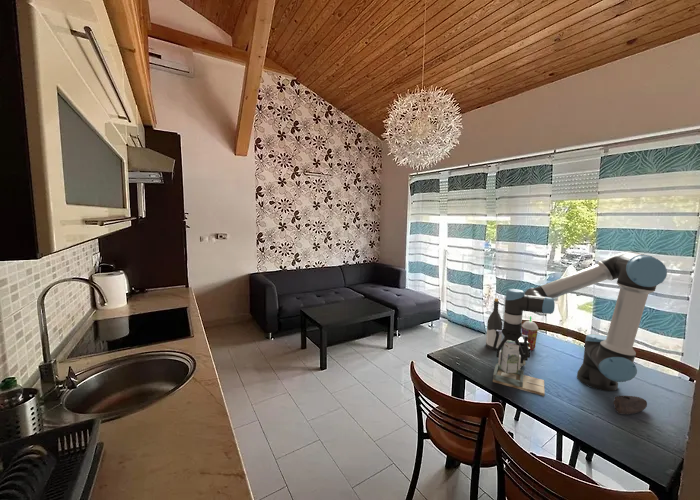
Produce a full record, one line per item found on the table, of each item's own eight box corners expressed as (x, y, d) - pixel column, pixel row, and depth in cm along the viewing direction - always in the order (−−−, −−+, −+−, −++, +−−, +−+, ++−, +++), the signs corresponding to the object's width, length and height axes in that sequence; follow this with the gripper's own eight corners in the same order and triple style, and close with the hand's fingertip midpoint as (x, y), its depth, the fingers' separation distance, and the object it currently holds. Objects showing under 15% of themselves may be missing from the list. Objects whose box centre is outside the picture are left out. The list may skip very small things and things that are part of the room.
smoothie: (516, 346, 181) (519, 314, 178) (527, 344, 183) (530, 313, 180) (528, 352, 173) (531, 319, 170) (539, 350, 175) (542, 318, 173)
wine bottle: (501, 345, 182) (504, 298, 178) (499, 350, 175) (503, 301, 171) (487, 342, 186) (490, 296, 182) (485, 347, 180) (488, 299, 176)
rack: (543, 382, 143) (544, 375, 143) (544, 396, 133) (545, 388, 132) (495, 370, 154) (496, 363, 154) (492, 381, 144) (493, 374, 143)
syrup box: (511, 367, 148) (513, 339, 146) (518, 373, 142) (520, 345, 140) (499, 367, 148) (501, 339, 146) (506, 373, 142) (508, 345, 140)
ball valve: (531, 375, 149) (534, 341, 147) (512, 373, 151) (515, 340, 149) (518, 358, 167) (520, 327, 164) (502, 356, 168) (504, 326, 166)
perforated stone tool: (639, 406, 126) (641, 391, 125) (652, 415, 121) (655, 399, 120) (607, 409, 124) (608, 393, 123) (619, 417, 119) (621, 401, 118)
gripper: (538, 323, 140) (533, 368, 143) (490, 315, 150) (487, 357, 153) (538, 328, 133) (533, 376, 136) (487, 319, 144) (484, 363, 147)
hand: (509, 366), depth 145 cm, fingers closed on syrup box, 8 cm apart
